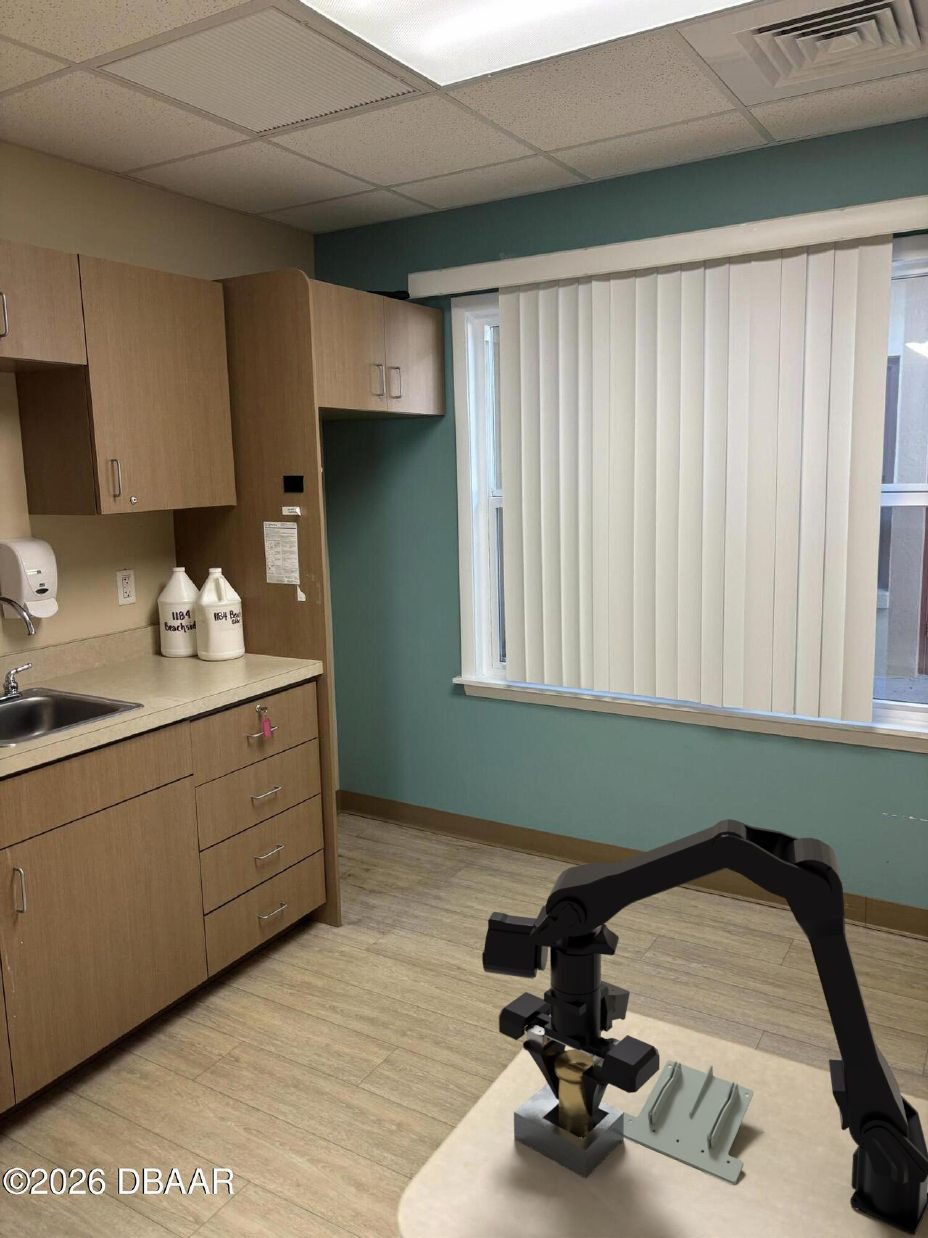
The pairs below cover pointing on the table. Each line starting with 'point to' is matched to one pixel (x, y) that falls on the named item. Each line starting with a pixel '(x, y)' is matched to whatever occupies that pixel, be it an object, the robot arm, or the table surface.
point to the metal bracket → (692, 1120)
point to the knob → (573, 1092)
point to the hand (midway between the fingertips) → (576, 1106)
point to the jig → (567, 1133)
